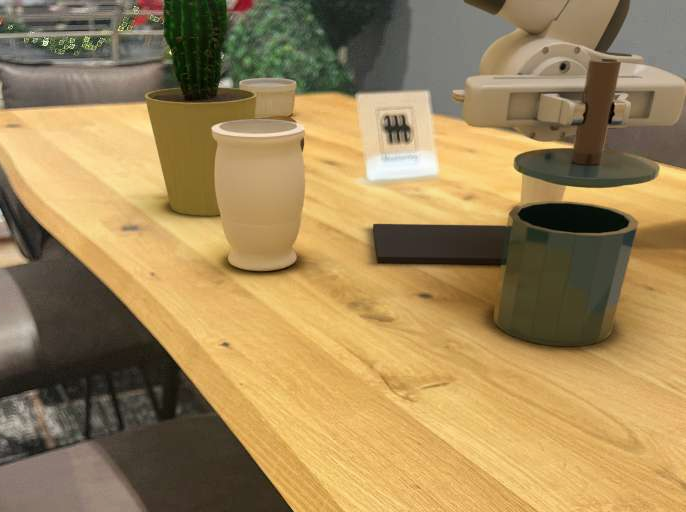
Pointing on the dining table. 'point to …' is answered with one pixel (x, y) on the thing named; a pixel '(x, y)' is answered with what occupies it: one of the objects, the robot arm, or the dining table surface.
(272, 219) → the jar
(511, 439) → the dining table surface
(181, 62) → the potted cactus
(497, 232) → the mat
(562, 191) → the beige cylinder
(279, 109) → the ramekin
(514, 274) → the storage jar
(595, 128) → the jar lid
